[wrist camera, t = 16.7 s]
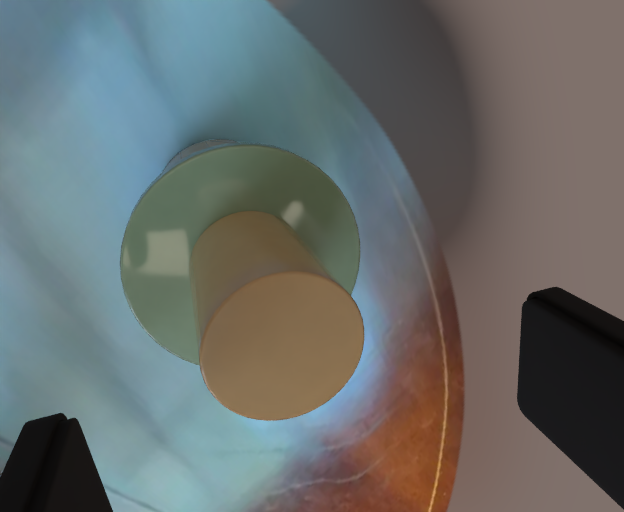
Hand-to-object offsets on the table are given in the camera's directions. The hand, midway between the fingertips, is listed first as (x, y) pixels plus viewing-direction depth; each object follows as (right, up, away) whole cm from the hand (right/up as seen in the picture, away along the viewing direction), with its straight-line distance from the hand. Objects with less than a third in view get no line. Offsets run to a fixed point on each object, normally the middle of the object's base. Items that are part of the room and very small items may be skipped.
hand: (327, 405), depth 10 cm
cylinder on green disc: (-3, +3, +7) cm, 8 cm away
